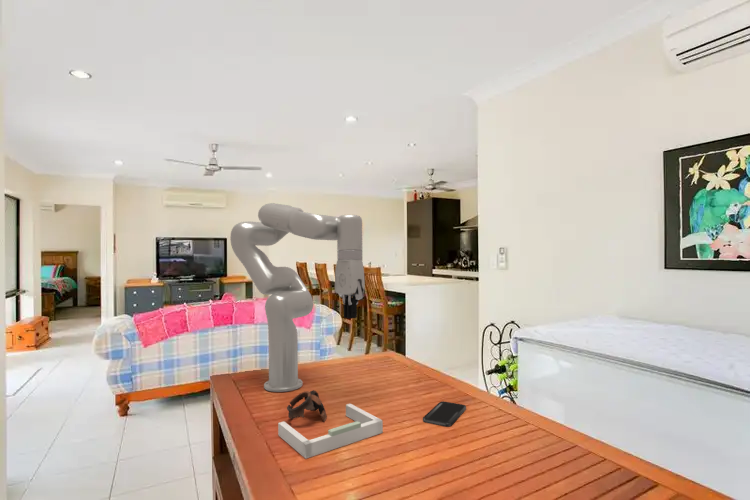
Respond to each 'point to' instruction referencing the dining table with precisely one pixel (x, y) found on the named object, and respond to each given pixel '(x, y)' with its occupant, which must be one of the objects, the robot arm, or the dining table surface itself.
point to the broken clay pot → (306, 405)
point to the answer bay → (334, 433)
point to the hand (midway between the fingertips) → (350, 317)
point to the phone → (444, 414)
